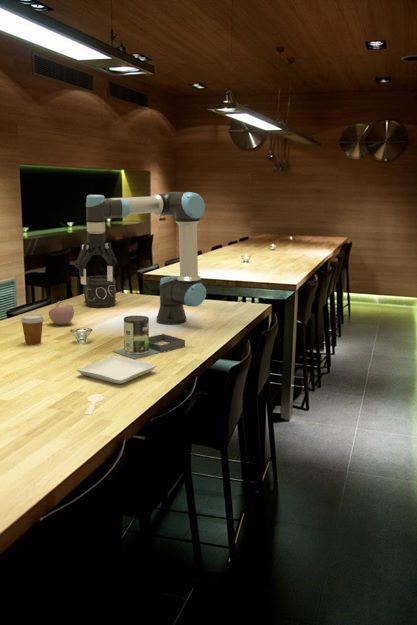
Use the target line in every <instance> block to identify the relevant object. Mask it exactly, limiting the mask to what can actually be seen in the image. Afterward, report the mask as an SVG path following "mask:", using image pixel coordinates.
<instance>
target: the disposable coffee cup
mask: <svg viewBox="0 0 417 625" xmlns="http://www.w3.org/2000/svg"><path fill="white" fill-rule="evenodd" d="M44 319H45V318H44V316H43V315H42V314H37V313H33V314H31V313H29V314H24V315H22V316H21V318H20V321H21V325H22V331H23V336H24V340H25V345H26V346H38V345H40V344H41V343H42V336H43V335H42V333H43V322H44Z"/></svg>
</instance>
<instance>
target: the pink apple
mask: <svg viewBox="0 0 417 625" xmlns="http://www.w3.org/2000/svg"><path fill="white" fill-rule="evenodd" d="M59 304H61V301H60V300H58V302H56V303H55V307H53V308H51V309H50V310H48V316H49V319H50V320H51V322H53V324H56V325H58V326H65V325H68V324H70V322H72V320H73V318H74V315H75V310H74V307H73V305H72V304H62V305H60V306H59Z"/></svg>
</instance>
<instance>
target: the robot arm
mask: <svg viewBox="0 0 417 625" xmlns="http://www.w3.org/2000/svg"><path fill="white" fill-rule="evenodd" d="M85 207H86V209H85V210H86V211H85V212H86V231H87V233H86V241H87V244H81V245H80V251H79V254H78V256H77V259H76V262H75V264H74V267H75V268H77V269H78V275H79V277H80V284H81V285H84V286H85V285H86V278H87V269H86V268H85V267H86V266H87V265H88V263H89V261H90V260H91V258H92V257H94V256H97V255H101V257H102V258H103V259H104V260H105V261H106V264H108V265H107V267H106V268H107V274H106V276H107V281H113V274H114V273H115V272H114V271H115V267H116V265H118V264H119V263H118V260H117V258H116V255H115V253H114V251H113V248H112V243H111V242H106V233H105V232H106V219H108V218H115V219H116V218H121V219H122V218H127V217H128V216H129V215H135V214H139V215H140V214H150V213H151V214H155V215H163V216H171V217H175V220H174V221H175V223H176V224H177V226H178V242H179V246H178V248H179V252H178V253H179V275H172V276H164V277H161V278H160V282H159V308H158V313H157V316H156V323H158V324H161V325H169V326H170V325H173V326H174V325H181V324H185V323H186V322H187V315H186V312H185V309H184V306H187V307H193V308H195V307H198V306H200V305H202V303H203V302H204V301H205V299H206V296H207V289H206V287H205V286H204V284H203V283H202V277H201V276H200V275H199V272H198V271H199V265H198V264H199V263H198V260H199V259H198V224H199V223H200V222H201V217H202V216H203V215H204V213H205V209H206V206H205V201H204V199H203V198H202V196H201V195H200V194H199V193H196V192H191V191H170V192H164V193H155V194H154V195H151V196H133V197H132V196H131V197H110V198H109V197H108V198H106V197H105V196H104V195H103V194H88V195H87V196H86V202H85Z"/></svg>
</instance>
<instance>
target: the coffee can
mask: <svg viewBox="0 0 417 625" xmlns="http://www.w3.org/2000/svg"><path fill="white" fill-rule="evenodd" d="M149 321H150V318H149V317H148V316H145V315H127V316H125V317H123V336H124V337H123V343H124V352H125V353H128V354H145V353H147V352H149V337H150V336H149V334H150V332H149V328H150V327H149V324H150V322H149Z"/></svg>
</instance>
